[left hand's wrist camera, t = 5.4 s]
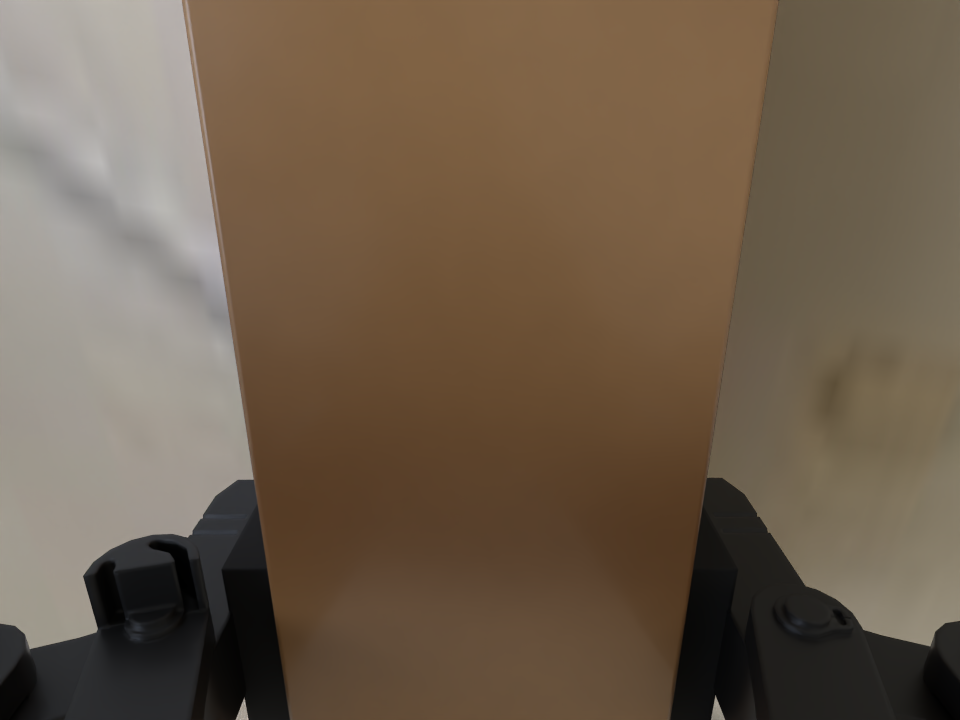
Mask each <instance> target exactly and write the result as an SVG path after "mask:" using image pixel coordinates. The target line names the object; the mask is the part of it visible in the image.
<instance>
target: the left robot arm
mask: <svg viewBox="0 0 960 720" xmlns="http://www.w3.org/2000/svg"><path fill="white" fill-rule="evenodd" d="M83 577H84V581H85V584H86V588H87V591H88V595H89V599H90V602H91V606H92V609H93V613H94V616H95V620H96V623H97V627H98V630H97V633H93V634H90V635H87V636H84V637H80V638H76V639H72V640H68V641H63V642H59V643H55V644H50V645H46V646H42V647H38V648H33V649H30V648H29V645H28V642H27V639H26V636H25V634H24V633H23V632H21V631H20V630H19V629H18V628H17V627H15V626H11V625H5V624H0V720H236V717H237V715H238V712H239V710H240V707H241V704H242V702H243V699H244V697H245V702H246V707H247V713H248V718H249V720H290V717H289V710H288V704H287V697H286V690H285V684H284V677H283V670H282V664H281V657H280V650H279V644H278V637H277V630H276V624H275V617H274V610H273V604H272V597H271V590H270V584H269V577H268V570H267V564H266V557H265V550H264V544H263V537H262V530H261V524H260V517H259V510H258V504H257V497H256V490H255V484H254V480H237V481H236V482H234V483H233V484H232V485H230V486H229V487H228V488H226V489H225V490H223V491H222V492H221V493H219V494H218V495H217V496H215V498H214V499H213V501H212V502H211V504H210V506H209V507H208V509H207V510H206V512H205V513H204V515H203V519H200V521H199V522H198V524H197V525H196V527H195V528H194V530H193V534H192V535H190V536H189V537H188V538H186V537H182V536H178V535H174V534H163V535H150V536H146V537H142V538H138V539H134V540H131V541H128V542H126V543H124V544H122V545H120V546H117V547H115V548H113V549H111V550H109V551H108V552H107V553H105V554H104V555H103V556H101V557H100V558H98V559H97V560H96V561H94V562H93V564H92V565H91V566H90V568H89V569H88V570H87V572H86V573H85V574H84V576H83ZM715 695H716V697H717V700H718V702H719V705H720V707H721V710H722V713H723V715H724V718H725V720H960V621H957V622H950V623H945V624H944V625H943V626H942V627H940V628H939V629H938V630H937V631H936V632H935V635H934V638H933V641H932V644H931V647H930V646H925V645H921V644H917V643H912V642H908V641H904V640H899V639H895V638H891V637H886V636H882V635H878V634H875V633H872V632H869V631H865V630H863V629H862V627H861V625H860V624H859V622H858V621H857V619H856V618H855V616H854V615H853V613H852V612H851V611H849V610H848V609H847V608H846V607H845V606H843V605H842V604H841V603H840V602H839V601H837V600H836V599H834V598H832V597H830V596H828V595H826V594H824V593H822V592H820V591H819V590H816V589H813V588H809V587H806V586H805V585H804V583H803V582H802V580H801V579H800V577H799V576H798V574H797V573H796V571H795V570H794V568H793V567H792V565H791V564H790V562H789V561H788V559H787V558H786V556H785V555H784V553H783V552H782V550H781V549H780V547H779V546H778V544H777V543H776V541H775V540H774V538H773V537H772V535H771V534H770V533H768V532H767V528H766V526H765V525H764V523H763V522H762V520H761V519H760V517H757V513H756V511H755V510H754V508H753V507H752V505H751V504H750V502H749V501H748V499H747V498H746V496H745V495H744V494H743V493H742V492H741V491H739V490H738V489H736V488H735V487H734V486H732V485H731V484H730V483H728V482H727V481H725V480H724V479H723V478H707V480H706V486H705V493H704V500H703V506H702V513H701V520H700V526H699V533H698V539H697V546H696V553H695V559H694V566H693V572H692V579H691V586H690V592H689V599H688V606H687V612H686V619H685V625H684V632H683V639H682V645H681V652H680V659H679V665H678V672H677V678H676V685H675V692H674V698H673V705H672V712H671V718H670V720H711V716H712V710H713V705H714V700H715Z"/></svg>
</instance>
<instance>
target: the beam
mask: <svg viewBox="0 0 960 720" xmlns="http://www.w3.org/2000/svg"><path fill="white" fill-rule="evenodd" d="M778 3H779V0H182V4H183V11H184V18H185V24H186V31H187V38H188V44H189V51H190V57H191V64H192V71H193V77H194V84H195V91H196V97H197V104H198V111H199V117H200V124H201V131H202V137H203V144H204V151H205V157H206V164H207V171H208V177H209V184H210V191H211V197H212V204H213V211H214V217H215V224H216V231H217V237H218V244H219V251H220V257H221V264H222V271H223V277H224V284H225V291H226V297H227V304H228V311H229V317H230V324H231V331H232V337H233V344H234V351H235V357H236V364H237V371H238V377H239V384H240V390H241V397H242V404H243V410H244V417H245V424H246V430H247V437H248V444H249V450H250V457H251V464H252V470H253V477H254V484H255V490H256V497H257V504H258V510H259V517H260V524H261V530H262V537H263V544H264V550H265V557H266V564H267V570H268V577H269V584H270V590H271V597H272V604H273V610H274V617H275V624H276V630H277V637H278V644H279V650H280V657H281V664H282V670H283V677H284V684H285V690H286V697H287V704H288V710H289V717H290V720H670V718H671V712H672V705H673V698H674V692H675V685H676V678H677V672H678V665H679V659H680V652H681V645H682V639H683V632H684V625H685V619H686V612H687V606H688V599H689V592H690V586H691V579H692V572H693V566H694V559H695V553H696V546H697V539H698V533H699V526H700V520H701V513H702V506H703V500H704V493H705V486H706V480H707V473H708V467H709V460H710V453H711V447H712V440H713V433H714V427H715V420H716V414H717V407H718V400H719V394H720V387H721V380H722V374H723V367H724V361H725V354H726V347H727V341H728V334H729V327H730V321H731V314H732V308H733V301H734V294H735V288H736V281H737V275H738V268H739V261H740V255H741V248H742V241H743V235H744V228H745V222H746V215H747V208H748V202H749V195H750V188H751V182H752V175H753V169H754V162H755V155H756V149H757V142H758V135H759V129H760V122H761V116H762V109H763V102H764V96H765V89H766V82H767V76H768V69H769V63H770V56H771V49H772V43H773V36H774V30H775V23H776V16H777V10H778Z"/></svg>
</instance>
